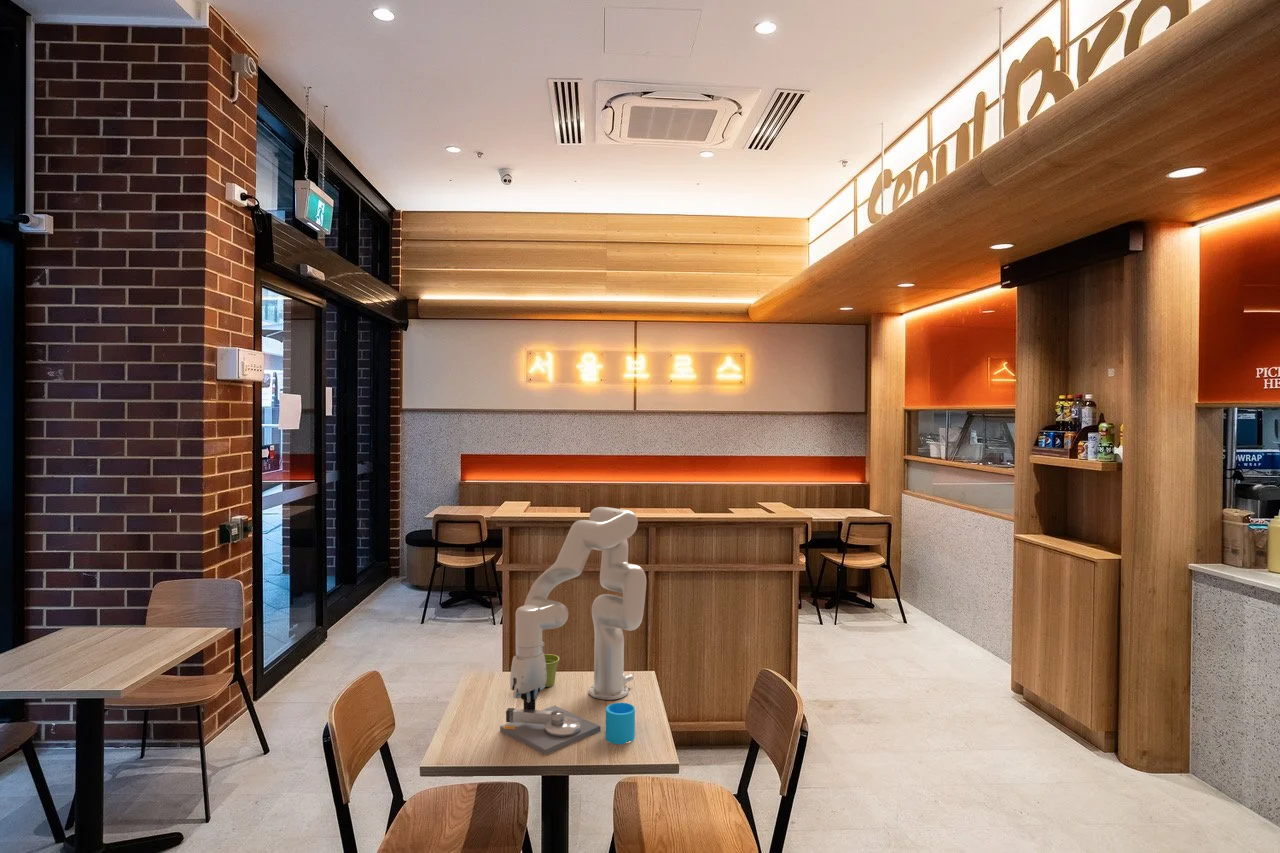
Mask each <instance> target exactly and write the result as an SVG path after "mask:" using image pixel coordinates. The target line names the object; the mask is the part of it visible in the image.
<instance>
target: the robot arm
mask: <svg viewBox="0 0 1280 853" xmlns="http://www.w3.org/2000/svg"><path fill="white" fill-rule="evenodd" d="M638 521H639V520H638V517H637V515H636V514H635V513H634V512H633V511H631V510H629V509H622V508H615V507H608V506H607V507H606V506H598V507H595V508H593V509H591V511H590V513H589V519H579V520H576V521H575V522H573V524H572V525H571V527H570V529H569V531H568V534H567V536H566V537H565V539H564V542H563V545H562V547H561V549H560V551H559V554H558V555H557V558H556V560H555V562H554V563H553V564H552V565H550V566H549V567H548V568H547V569H545V571H544V572H542V573H541V574H540V575H539V577H537V579H535V581H534V582H533V583H532V585H531V587H530V589H529V591H528V593H527V596H526V598H525V600H524V601H525V602H524V605H521V606H519V607H518V608H516V611H515V655H514V656H513V658H512V661H511V667H510V677H509V678H510V679H509V686H510V687H509V688H510V690H511V691H513V693H512V697H513V698H515V699H521V700H523V709H527V710H536V701H537V700H538V694H539V693H540V692H541V691H542V690H543V689H545V688H546V687H545V684H546V679H547V673H546V662H545V656H544V654H545V653H544V651H543V647H544V646H545V644H546V643H545V641H543V631H544V630H553V629H557V628H561V627H562V626H564V625H565V624H566V622H568V618H569V610H568V607H567V606H566V605H565V604H563V603H562V602H559V601H555V600H552V599H548V597H549V595H550V593H551V592H552V591H553V590H554V589H555V588H556V586H558V585H560V584H561V583H563V582H566V581H570V580H571V579H574V578H576V577H577V578H578V577H579V576H580V575H581V574H582V573H583V570H584V568H585V565H586V563H587V560H588V558H589V555H590V553H591V552H592V550H596V551H601V561H600V568H599V570H600V572H599V583H600V586H601V587H602V588H603V589H605V590H608V591H611V592H615V593H616V592H617V593H620V594H622V596H619V595H615V594H610V593H604V594H600V595H598V596H597V597H596V598H595V599H594V600H593V602H592V604H591V617H592V623H593V631H594V634H593V635H594V649H593V650H594V651H593V652H594V656H593V658H594V662H593V663H594V664H593V665H594V666H593V671H594V672H593V673H594V674H593V685H591V686H590V687H589V689H588V693H589V695H590V696H591V697H592V698H595V699H598V700H603V701H604V700H605V701H612V700H619V699H622V698H624V697H626V696H627V695H629V694H628V693H629V687H628V686H627V685H626V684H627V683H628V682H631V681H633V680H634V675H633V674H627V675H625V674H624V671H625V670H624V666H625V664H624V659H625V658H624V656H625V655H624V652H625V647H624V646H625V637H624V632H623V630H625V631H635V630H637V629H638V628H639V627H640V625H641V624H642V622H643V618H644V611H645V602H646V591H647V575H646V572H645V570H644V569H643V568H642V567H641V566H639V565H637V564H633V563H629V543H628V539H629V538H630V537H632V536H633V535H634V534H635V532H636V530H637V528H638V525H639V522H638Z"/></svg>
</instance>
